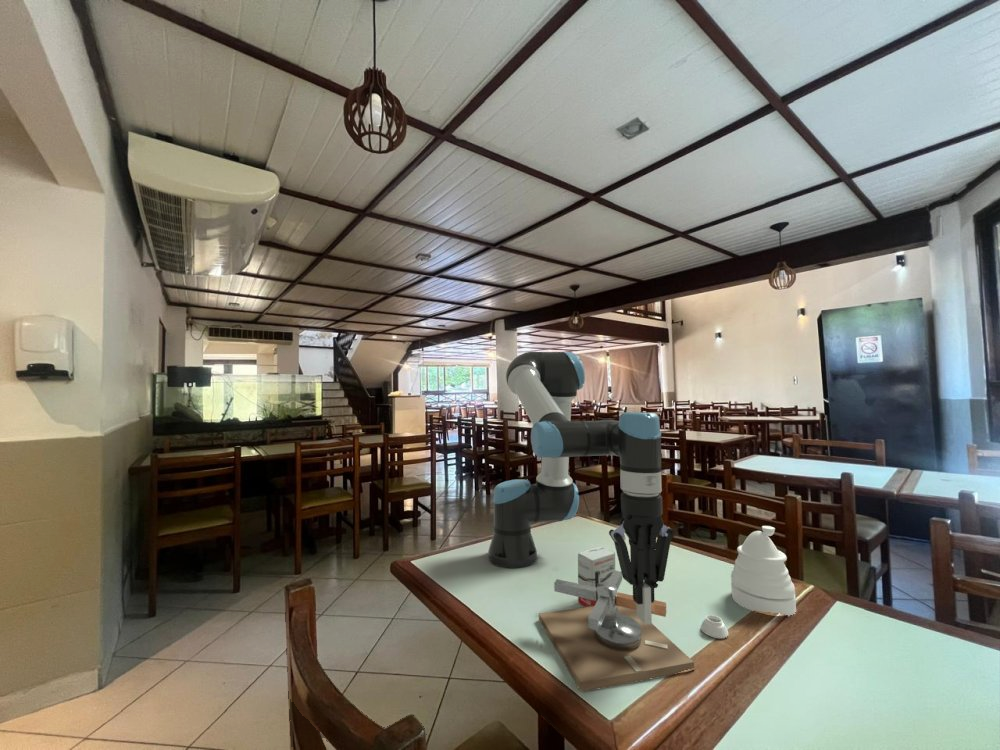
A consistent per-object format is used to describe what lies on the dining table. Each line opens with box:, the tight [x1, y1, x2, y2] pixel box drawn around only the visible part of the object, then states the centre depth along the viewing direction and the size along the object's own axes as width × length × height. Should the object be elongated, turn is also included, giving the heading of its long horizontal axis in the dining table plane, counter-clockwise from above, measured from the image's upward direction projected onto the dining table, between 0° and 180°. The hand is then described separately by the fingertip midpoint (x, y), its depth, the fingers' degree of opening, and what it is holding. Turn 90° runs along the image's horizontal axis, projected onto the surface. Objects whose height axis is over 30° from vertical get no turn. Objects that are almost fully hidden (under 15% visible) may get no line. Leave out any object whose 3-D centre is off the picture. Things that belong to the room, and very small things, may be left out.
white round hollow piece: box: [700, 614, 729, 639], centre depth 81 cm, size 5×3×5 cm
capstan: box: [553, 569, 667, 650], centre depth 78 cm, size 22×22×9 cm
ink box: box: [577, 545, 616, 607], centre depth 94 cm, size 8×5×12 cm, turn 123°
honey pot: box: [730, 525, 797, 617], centre depth 94 cm, size 13×13×18 cm
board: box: [538, 606, 695, 693], centre depth 78 cm, size 22×22×2 cm
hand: (644, 620), depth 73 cm, fingers closed
